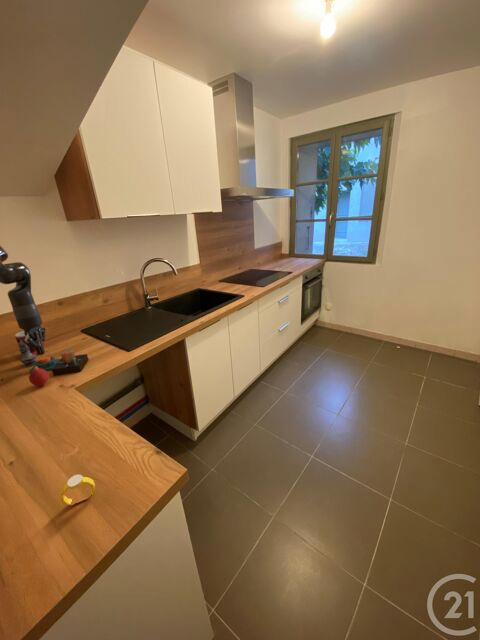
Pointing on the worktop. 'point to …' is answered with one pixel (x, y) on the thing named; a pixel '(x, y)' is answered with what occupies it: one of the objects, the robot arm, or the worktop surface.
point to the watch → (74, 483)
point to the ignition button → (44, 359)
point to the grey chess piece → (26, 355)
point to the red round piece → (38, 376)
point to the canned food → (22, 336)
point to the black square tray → (70, 365)
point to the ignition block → (46, 364)
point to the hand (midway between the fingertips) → (41, 353)
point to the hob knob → (68, 356)
